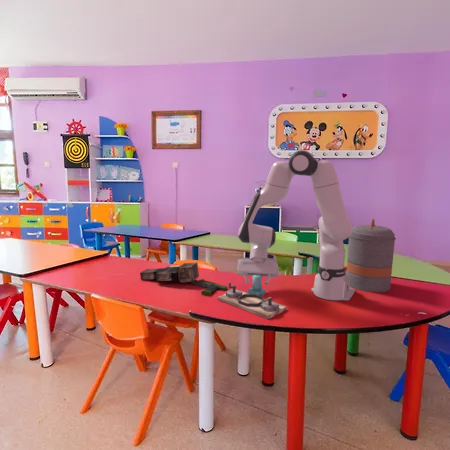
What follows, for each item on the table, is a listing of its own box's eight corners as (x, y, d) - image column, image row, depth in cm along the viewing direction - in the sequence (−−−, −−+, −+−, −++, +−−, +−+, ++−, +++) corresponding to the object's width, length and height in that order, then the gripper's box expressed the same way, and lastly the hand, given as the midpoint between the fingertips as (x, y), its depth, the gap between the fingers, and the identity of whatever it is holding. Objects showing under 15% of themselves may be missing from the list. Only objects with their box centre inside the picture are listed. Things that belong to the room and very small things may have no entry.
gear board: (236, 292, 156) (237, 276, 155) (286, 309, 137) (287, 291, 136) (217, 299, 147) (218, 282, 146) (268, 319, 128) (268, 299, 126)
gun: (181, 288, 162) (202, 282, 174) (208, 297, 150) (229, 290, 161) (181, 283, 162) (202, 277, 173) (208, 292, 150) (229, 285, 161)
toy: (138, 287, 170) (191, 286, 162) (135, 271, 169) (188, 268, 161) (152, 278, 185) (201, 276, 177) (150, 263, 184) (199, 260, 176)
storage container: (349, 275, 186) (353, 215, 181) (392, 282, 175) (398, 218, 169) (340, 286, 167) (345, 219, 162) (389, 295, 156) (396, 223, 150)
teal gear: (255, 288, 162) (255, 272, 160) (268, 293, 156) (269, 276, 155) (244, 292, 156) (245, 275, 155) (258, 297, 150) (258, 279, 149)
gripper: (237, 254, 162) (234, 278, 154) (279, 256, 159) (278, 281, 151) (238, 260, 167) (235, 284, 159) (278, 262, 164) (277, 287, 156)
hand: (256, 283), depth 155 cm, fingers open, 8 cm apart
